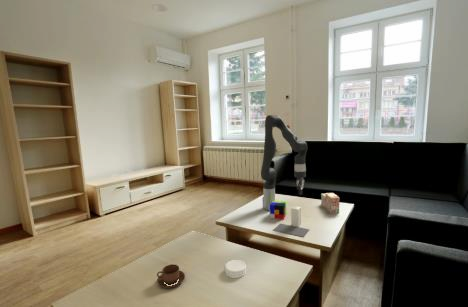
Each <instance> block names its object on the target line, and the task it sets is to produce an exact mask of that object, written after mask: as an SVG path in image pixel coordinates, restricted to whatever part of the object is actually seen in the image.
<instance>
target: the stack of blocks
mask: <svg viewBox="0 0 468 307" xmlns="http://www.w3.org/2000/svg"><path fill="white" fill-rule="evenodd" d="M320 197H321V205H322V207H323V208H325V209H326V210H327V211H328V212H329V213H330V214H339V213H340V197H339V195H337V194H335V193H334V192H326V193H320Z"/></svg>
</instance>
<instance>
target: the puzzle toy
mask: <svg viewBox="0 0 468 307" xmlns="http://www.w3.org/2000/svg"><path fill="white" fill-rule="evenodd" d="M286 216H287V201H282V200H281V201H280V200H279V201H278V200H275V201H272V203H271V204H270V210H269V219H278V220H285V218H286Z"/></svg>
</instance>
